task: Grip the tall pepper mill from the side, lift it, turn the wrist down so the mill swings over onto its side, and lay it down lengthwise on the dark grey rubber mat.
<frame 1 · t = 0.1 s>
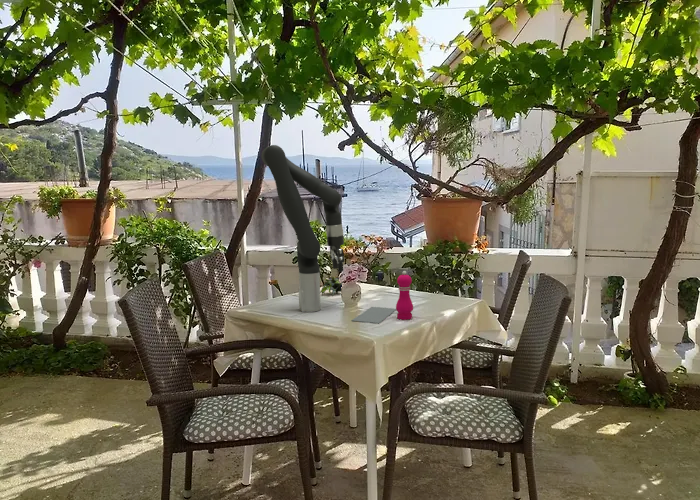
hand: (338, 269, 233), 17 cm above the table, tool pointing down, fingers open, 8 cm apart
mat: (375, 315, 220), on the table
pepper mill: (404, 318, 215), on the table
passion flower: (333, 295, 261), on the table
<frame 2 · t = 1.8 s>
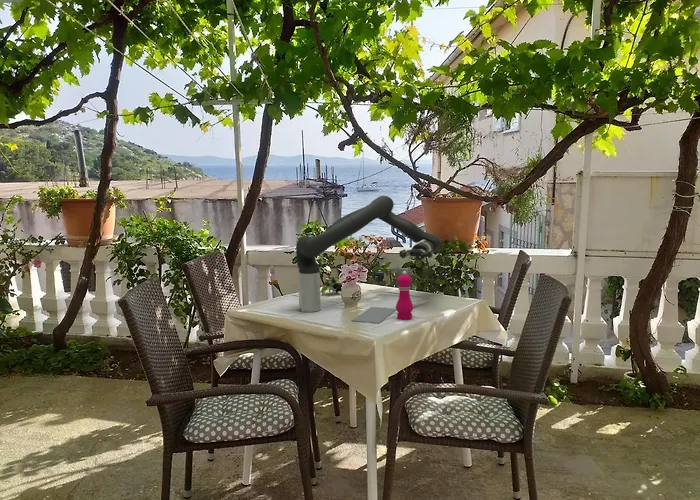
hand: (411, 256, 222), 25 cm above the table, tool horizontal, fingers open, 8 cm apart
nothing on the table moved.
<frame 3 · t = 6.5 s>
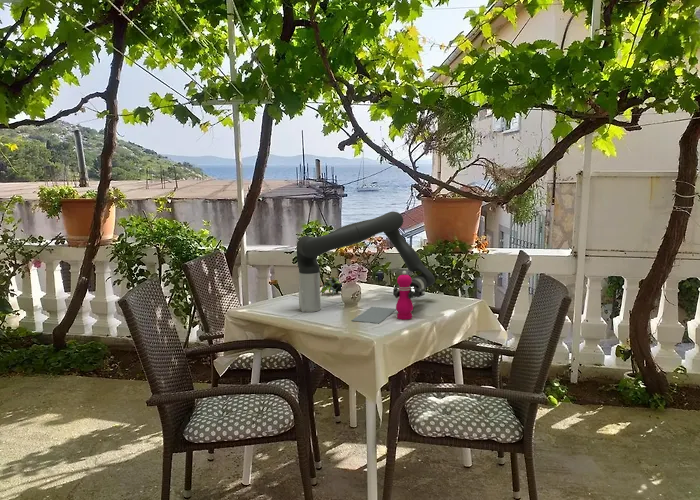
hand: (402, 295, 211), 10 cm above the table, tool horizontal, fingers closed on pepper mill, 5 cm apart
pepper mill: (404, 318, 215), on the table, touching gripper
everything else where it was.
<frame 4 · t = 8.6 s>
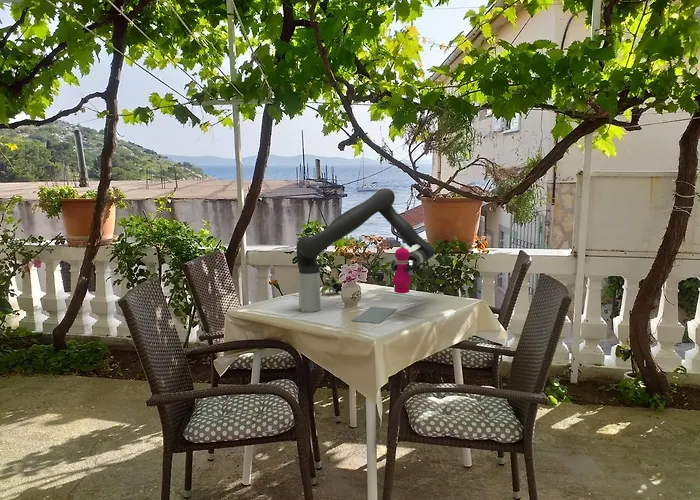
hand: (400, 269, 209), 21 cm above the table, tool horizontal, fingers closed on pepper mill, 5 cm apart
pepper mill: (401, 291, 214), point 11 cm above the table, touching gripper
everything else where it was.
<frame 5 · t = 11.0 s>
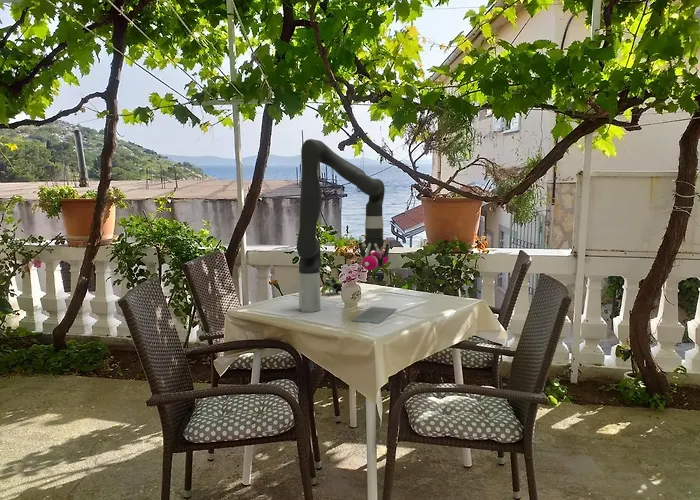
hand: (374, 266, 217), 21 cm above the table, tool pointing down, fingers closed on pepper mill, 5 cm apart
pepper mill: (382, 257, 226), point 24 cm above the table, touching gripper
everything else where it was.
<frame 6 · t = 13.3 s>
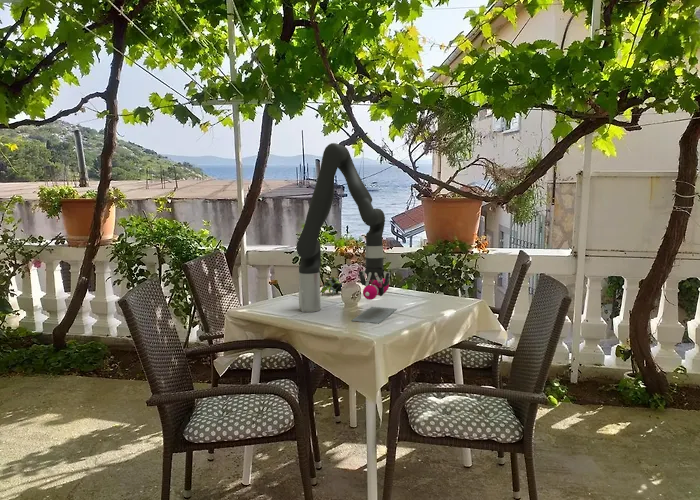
hand: (374, 295, 219), 9 cm above the table, tool pointing down, fingers closed on pepper mill, 5 cm apart
pepper mill: (382, 284, 228), point 11 cm above the table, touching gripper
everything else where it was.
when the fingers open (3 cm above the table, at t = 14.9 s): pepper mill drops 1 cm, resting on mat.
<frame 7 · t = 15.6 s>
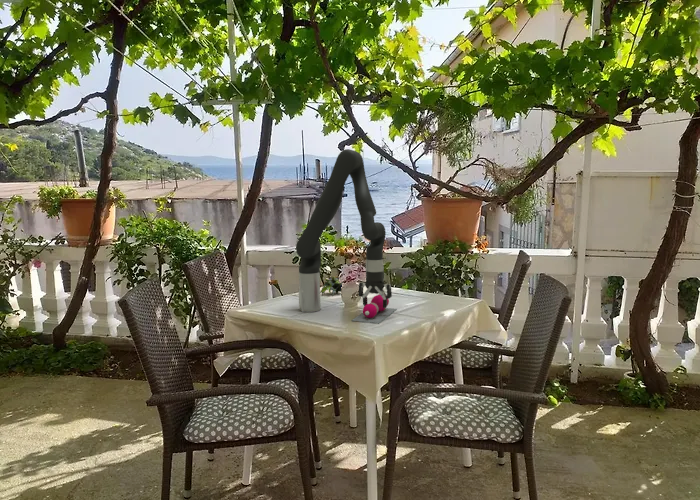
hand: (375, 307, 219), 4 cm above the table, tool pointing down, fingers open, 8 cm apart
pepper mill: (382, 300, 228), point 4 cm above the table, touching mat
everything else where it was.
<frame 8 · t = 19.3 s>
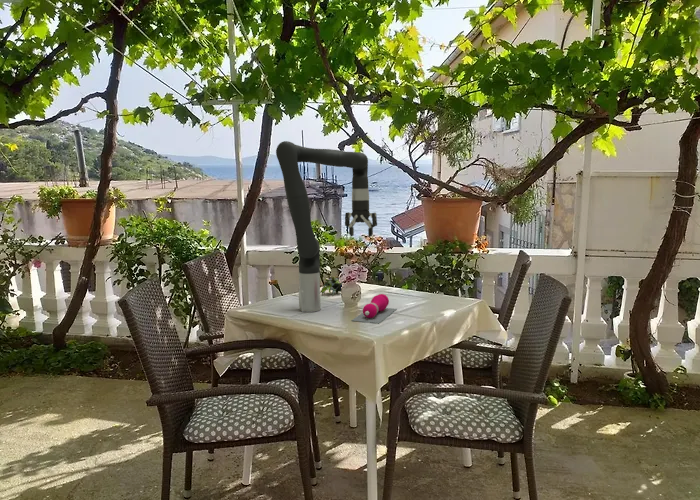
hand: (361, 236, 226), 33 cm above the table, tool pointing down, fingers open, 8 cm apart
nothing on the table moved.
at the end: pepper mill tilted 93°; pepper mill touching mat; the gripper is holding nothing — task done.
